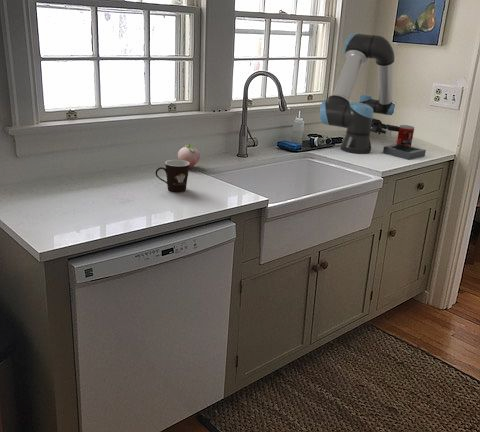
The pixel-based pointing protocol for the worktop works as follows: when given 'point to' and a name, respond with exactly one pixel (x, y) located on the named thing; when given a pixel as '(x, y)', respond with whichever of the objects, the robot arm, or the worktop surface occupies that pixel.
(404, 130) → the canned food
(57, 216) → the worktop surface
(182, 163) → the coffee mug
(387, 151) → the square holder
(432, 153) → the worktop surface
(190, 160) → the decorative fruit
